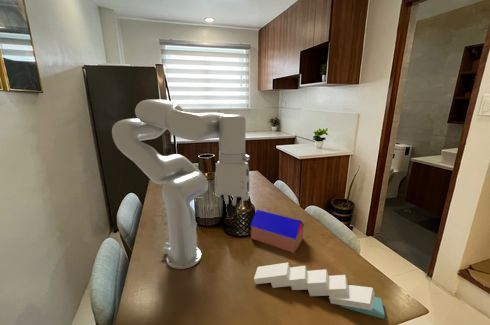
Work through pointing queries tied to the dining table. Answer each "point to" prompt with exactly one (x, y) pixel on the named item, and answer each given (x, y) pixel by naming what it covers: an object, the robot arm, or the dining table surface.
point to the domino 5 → (355, 297)
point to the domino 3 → (314, 280)
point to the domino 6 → (375, 311)
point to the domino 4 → (332, 287)
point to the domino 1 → (272, 273)
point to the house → (277, 230)
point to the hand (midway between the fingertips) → (231, 215)
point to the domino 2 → (293, 277)
